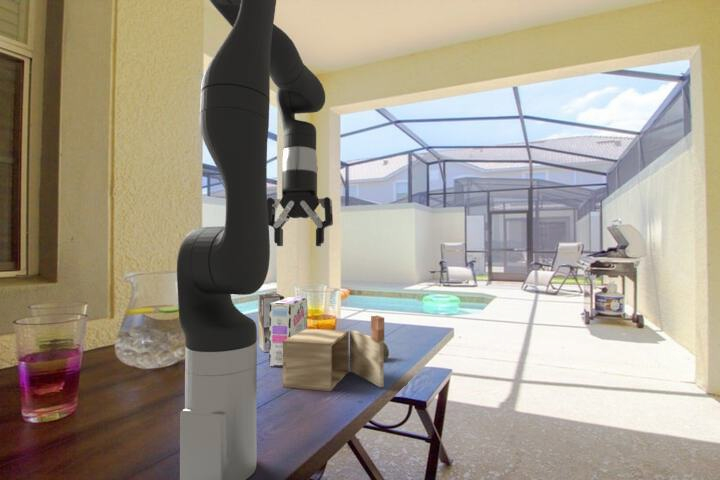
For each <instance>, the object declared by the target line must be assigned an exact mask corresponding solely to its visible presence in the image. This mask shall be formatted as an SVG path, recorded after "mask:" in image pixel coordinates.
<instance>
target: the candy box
mask: <svg viewBox="0 0 720 480" xmlns="http://www.w3.org/2000/svg"><path fill="white" fill-rule="evenodd" d="M269 329H270V332H269V333H270V334H269V352H268V354H269V355H268V359H269V361H268V363H269V364H268V366H269V367H277V368H278V367H280V368H283V341H284V340H286V339H288V338H289V337H291V336H293V335H295V334H297V333H299V332H301V331H303V330H305V329H308V298H307V297H291V296H289V297H286V298H284V299H283V300H280V301H276V302H273V303H270V328H269Z"/></svg>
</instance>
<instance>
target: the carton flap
mask: <svg viewBox="0 0 720 480" xmlns="http://www.w3.org/2000/svg"><path fill="white" fill-rule="evenodd" d="M383 342H385V317H384V316H379V315H371V316H370V335H368V334H365V333H362V332H359V331H358V330H354V329H349V371H351V372H352V373H354V374H356V375H358V376H359V377H362V378H363V379H365V380H366V381H368V382H370V383H372V384H374V385H375V386H377V387H379V388H384V385H385V383H384V361H383Z"/></svg>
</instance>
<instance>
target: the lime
mask: <svg viewBox="0 0 720 480" xmlns="http://www.w3.org/2000/svg"><path fill="white" fill-rule="evenodd" d="M389 355H390V352H389V348H388V345H387V344H386V343H385V341H383V362H386V361H387V360H388V358H389Z"/></svg>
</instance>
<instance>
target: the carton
mask: <svg viewBox="0 0 720 480" xmlns="http://www.w3.org/2000/svg"><path fill="white" fill-rule="evenodd" d="M349 371H350V330H346V329H344V330H342V329H341V330H340V329H339V330H338V329H325V328H324V329H321V328H317V329H316V328H307V329H305V330H303V331H301V332H299V333H297V334H295V335H293V336H291V337H289V338H288V339H286V340H284V341H283V367H282V387H283V388H292V389H302V390H304V389H306V390H313V391H327V392H331V391H332V390H333V389H334V388H335V387H336V386H337V385H338V384H339V383H340V382H341V381H342V380H343V378H344V377H345V376H347V374H348V373H349Z"/></svg>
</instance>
